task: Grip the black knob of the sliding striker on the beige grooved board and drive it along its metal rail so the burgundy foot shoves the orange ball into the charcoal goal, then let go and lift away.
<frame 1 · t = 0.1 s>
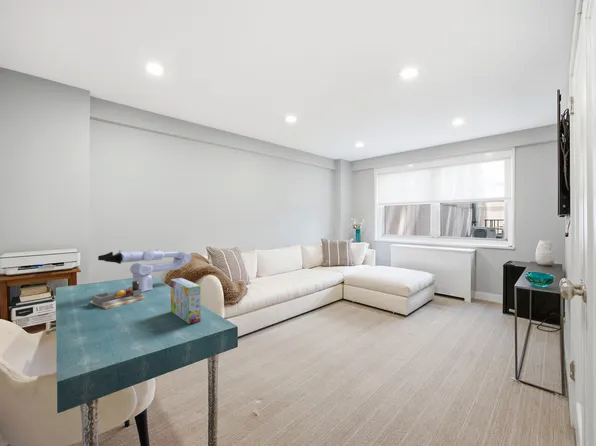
hand: (101, 258, 147), 22 cm above the table, fingers open, 7 cm apart
ball: (121, 293, 147), point 3 cm above the table, touching beige grooved board
snack box: (185, 316, 122), on the table
striker: (132, 288, 148), point 5 cm above the table, slide at 0.0 cm
goal: (104, 303, 140), resting on beige grooved board
beige grooved board: (118, 301, 145), on the table
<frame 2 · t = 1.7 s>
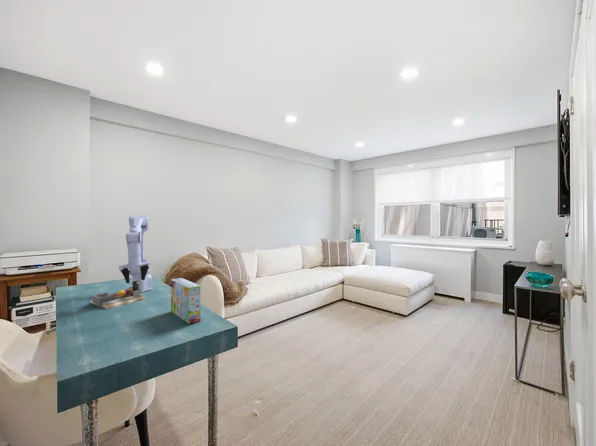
hand: (135, 281, 146), 10 cm above the table, fingers open, 7 cm apart
nothing on the table moved.
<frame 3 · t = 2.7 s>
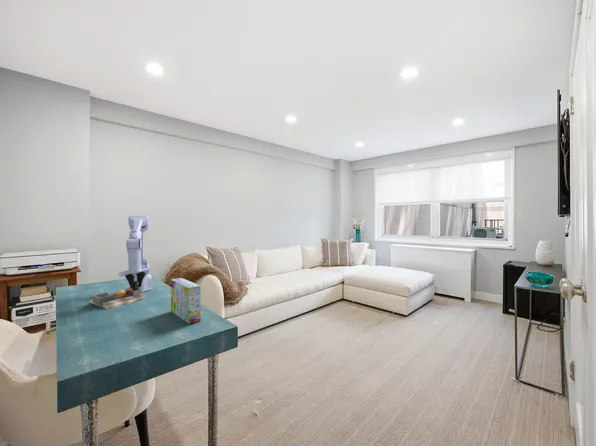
hand: (135, 287, 146), 6 cm above the table, fingers closed on striker, 3 cm apart
striker: (132, 288, 148), point 5 cm above the table, slide at 0.0 cm, touching gripper
everything else where it was.
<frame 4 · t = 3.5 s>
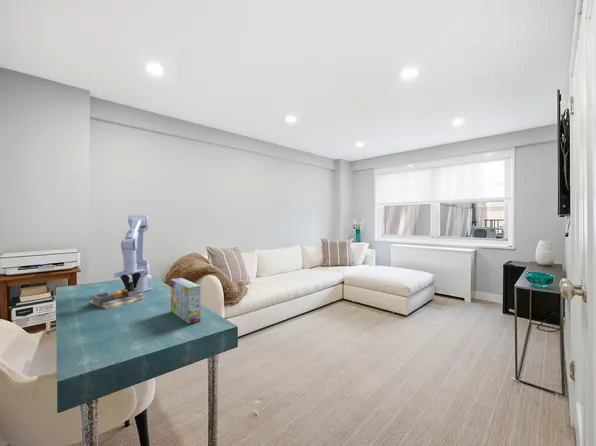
hand: (131, 288, 144), 6 cm above the table, fingers closed on striker, 3 cm apart
ball: (118, 294, 145), point 3 cm above the table, tilted 42°, touching beige grooved board
striker: (127, 289, 146), point 5 cm above the table, slide at 2.3 cm, touching gripper
everything else where it was.
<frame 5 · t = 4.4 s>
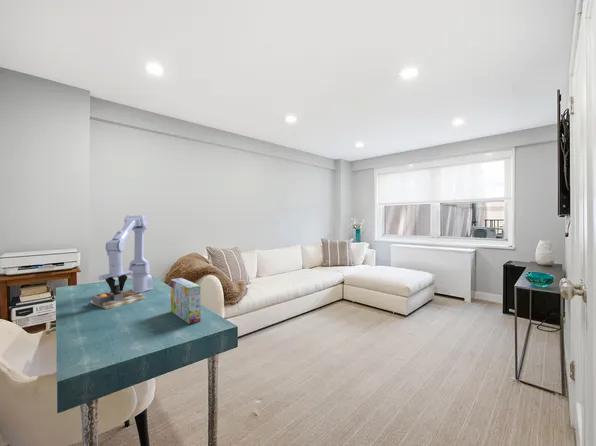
hand: (117, 291, 139), 6 cm above the table, fingers closed on striker, 3 cm apart
ball: (103, 298, 140), point 3 cm above the table, tilted 120°, touching beige grooved board
striker: (113, 292, 141), point 5 cm above the table, slide at 8.9 cm, touching gripper
everything else where it was.
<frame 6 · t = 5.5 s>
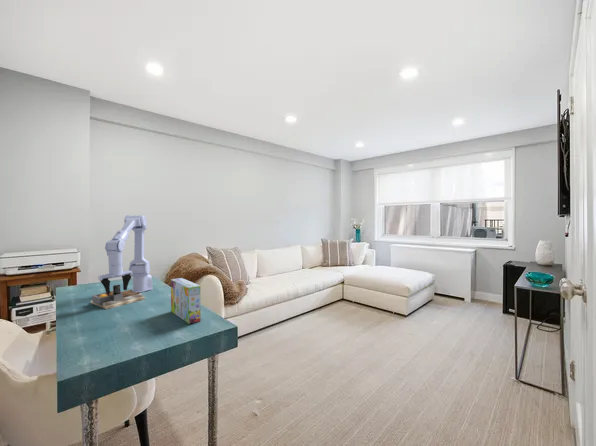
hand: (116, 291, 139), 6 cm above the table, fingers open, 7 cm apart
striker: (113, 292, 141), point 5 cm above the table, slide at 9.0 cm
everything else where it was.
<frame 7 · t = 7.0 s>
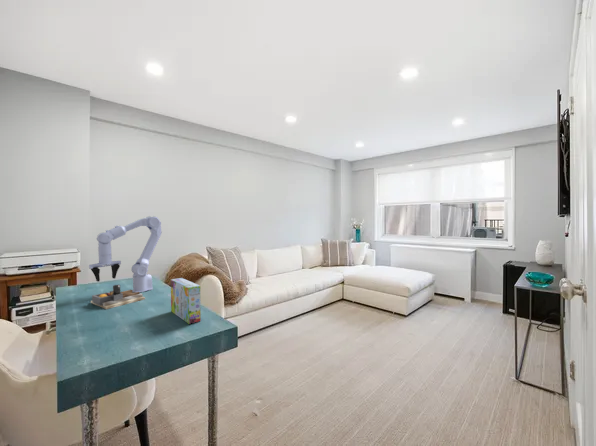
hand: (106, 279, 152), 9 cm above the table, fingers open, 7 cm apart
nothing on the table moved.
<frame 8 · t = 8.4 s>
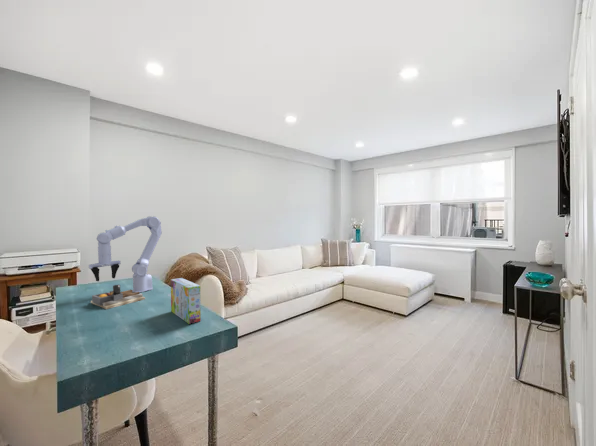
hand: (105, 279, 152), 9 cm above the table, fingers open, 7 cm apart
nothing on the table moved.
at the end: ball 0.4 cm off-centre on the goal, point 3.0 cm above the goal's base; striker slide at 9.0 cm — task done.
